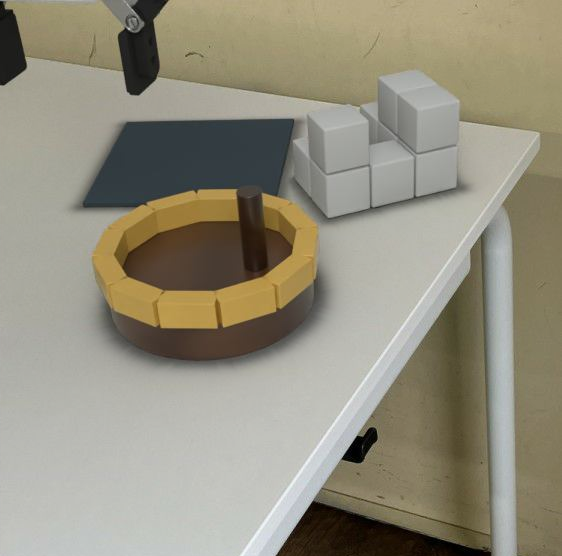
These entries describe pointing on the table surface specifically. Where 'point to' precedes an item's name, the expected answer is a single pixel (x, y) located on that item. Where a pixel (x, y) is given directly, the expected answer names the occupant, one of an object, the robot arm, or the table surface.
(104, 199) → the mat
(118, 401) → the table surface
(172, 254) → the peg stand
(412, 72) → the puzzle cube
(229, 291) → the ring
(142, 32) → the robot arm
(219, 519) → the table surface
